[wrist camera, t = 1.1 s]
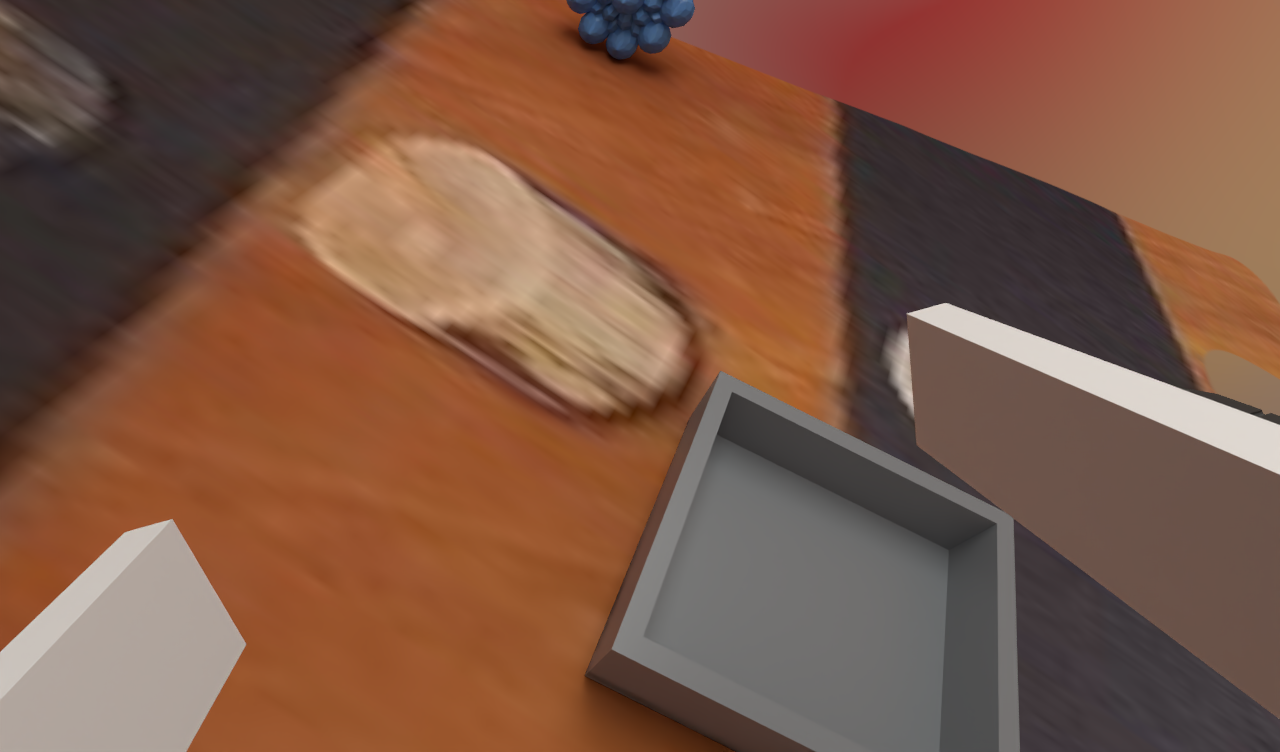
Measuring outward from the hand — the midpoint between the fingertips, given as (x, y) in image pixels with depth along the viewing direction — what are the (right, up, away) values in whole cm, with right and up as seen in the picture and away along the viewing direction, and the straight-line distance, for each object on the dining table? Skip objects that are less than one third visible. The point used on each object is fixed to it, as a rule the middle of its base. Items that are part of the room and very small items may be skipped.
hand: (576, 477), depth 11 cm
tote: (+9, -10, +23) cm, 27 cm away
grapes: (-1, +33, +51) cm, 61 cm away
